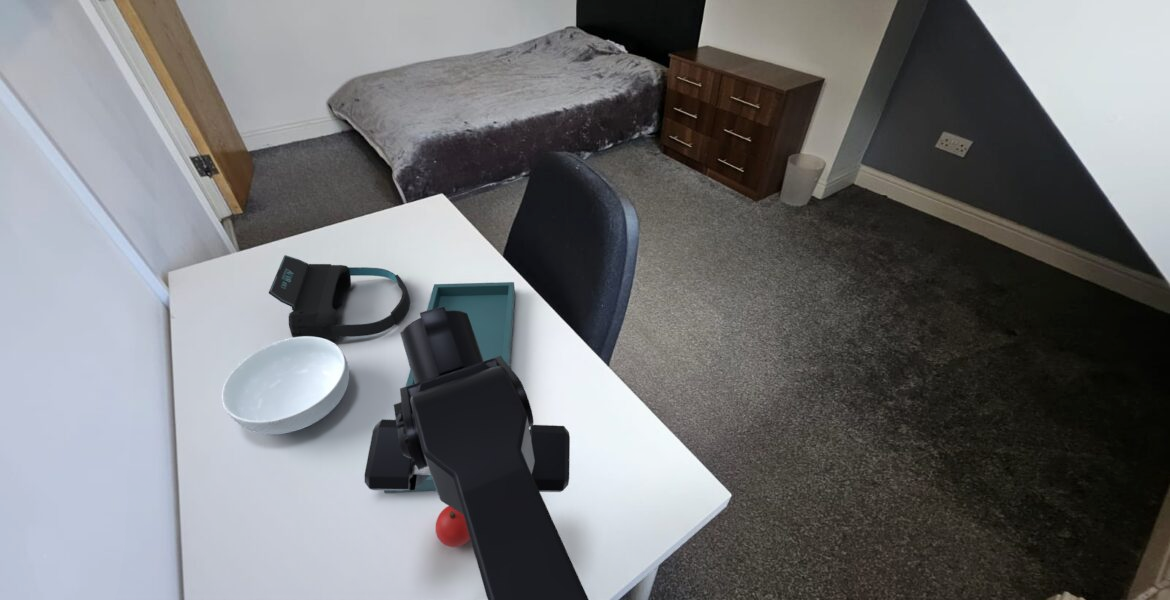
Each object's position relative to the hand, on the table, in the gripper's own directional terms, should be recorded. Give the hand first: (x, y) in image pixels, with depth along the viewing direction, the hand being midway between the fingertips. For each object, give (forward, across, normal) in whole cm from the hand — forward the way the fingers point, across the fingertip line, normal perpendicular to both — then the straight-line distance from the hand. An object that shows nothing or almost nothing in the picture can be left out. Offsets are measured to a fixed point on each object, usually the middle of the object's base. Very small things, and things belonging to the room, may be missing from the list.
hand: (473, 466), depth 53 cm
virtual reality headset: (+34, +26, -32) cm, 54 cm away
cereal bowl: (+26, +29, -12) cm, 40 cm away
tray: (+24, +4, -18) cm, 30 cm away
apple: (+13, +1, +7) cm, 15 cm away
